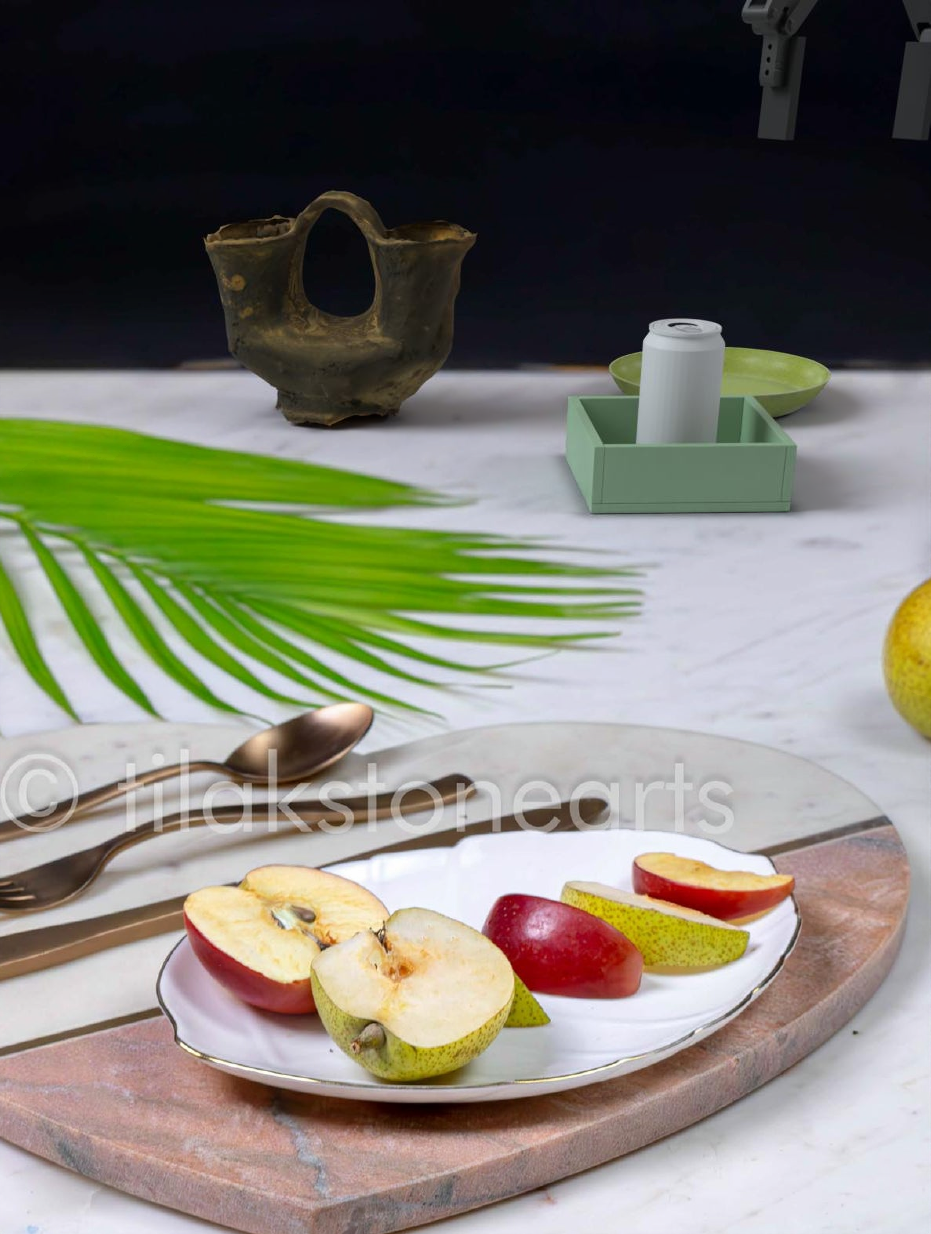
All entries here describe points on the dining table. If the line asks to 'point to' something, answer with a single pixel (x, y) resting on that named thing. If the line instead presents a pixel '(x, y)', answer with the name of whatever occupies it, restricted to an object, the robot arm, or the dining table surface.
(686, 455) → the bin
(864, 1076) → the dining table surface
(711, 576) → the dining table surface
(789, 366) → the saucer
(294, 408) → the pottery vessel
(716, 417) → the beverage can
